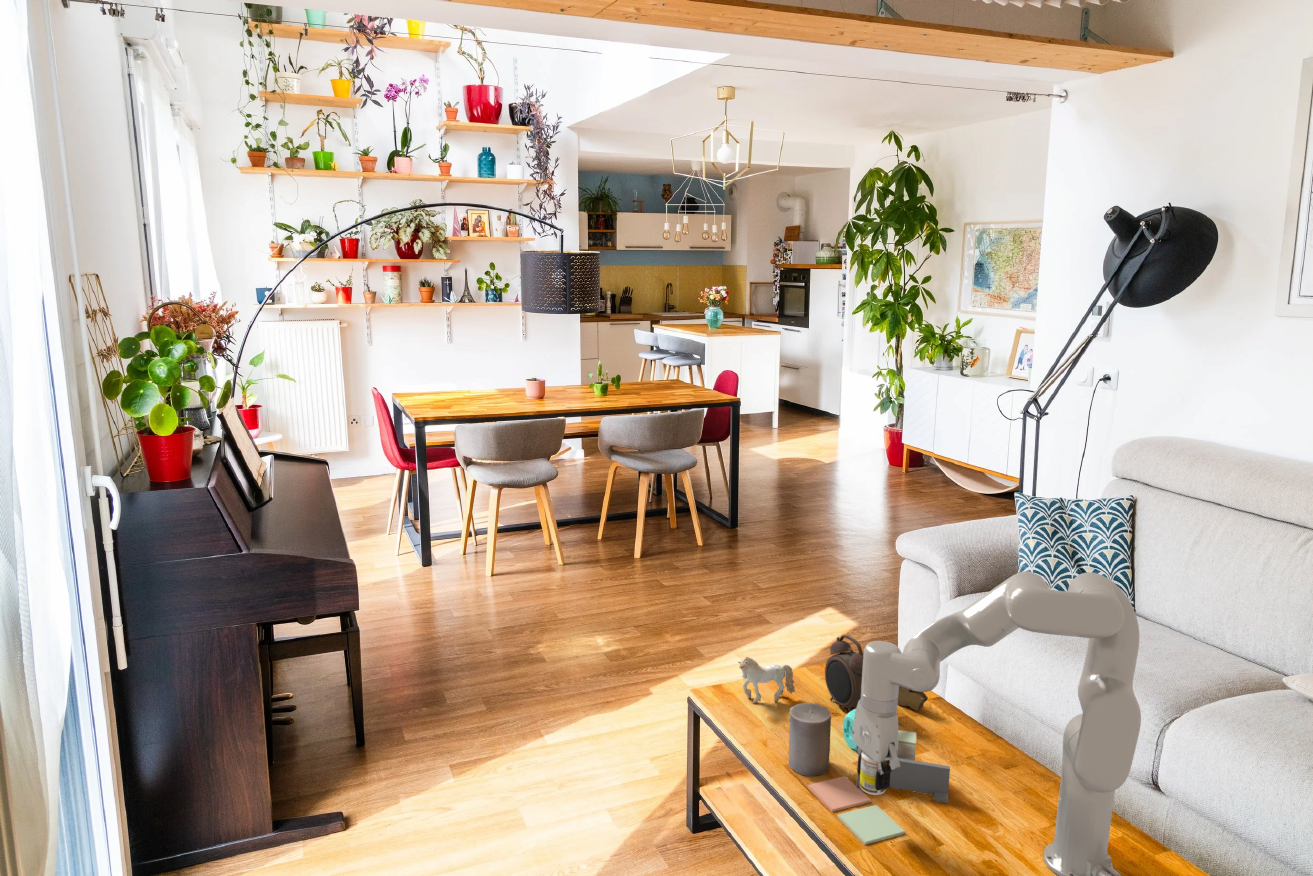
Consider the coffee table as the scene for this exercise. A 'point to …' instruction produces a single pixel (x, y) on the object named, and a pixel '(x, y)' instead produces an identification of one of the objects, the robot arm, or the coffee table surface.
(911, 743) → the marked post
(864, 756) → the supplement bottle
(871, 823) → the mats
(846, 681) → the alarm clock
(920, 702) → the wooden carving
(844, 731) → the decorative dice
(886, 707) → the robot arm
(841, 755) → the coffee table surface
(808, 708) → the pillar candle
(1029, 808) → the coffee table surface
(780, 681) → the unicorn figurine
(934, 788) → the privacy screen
